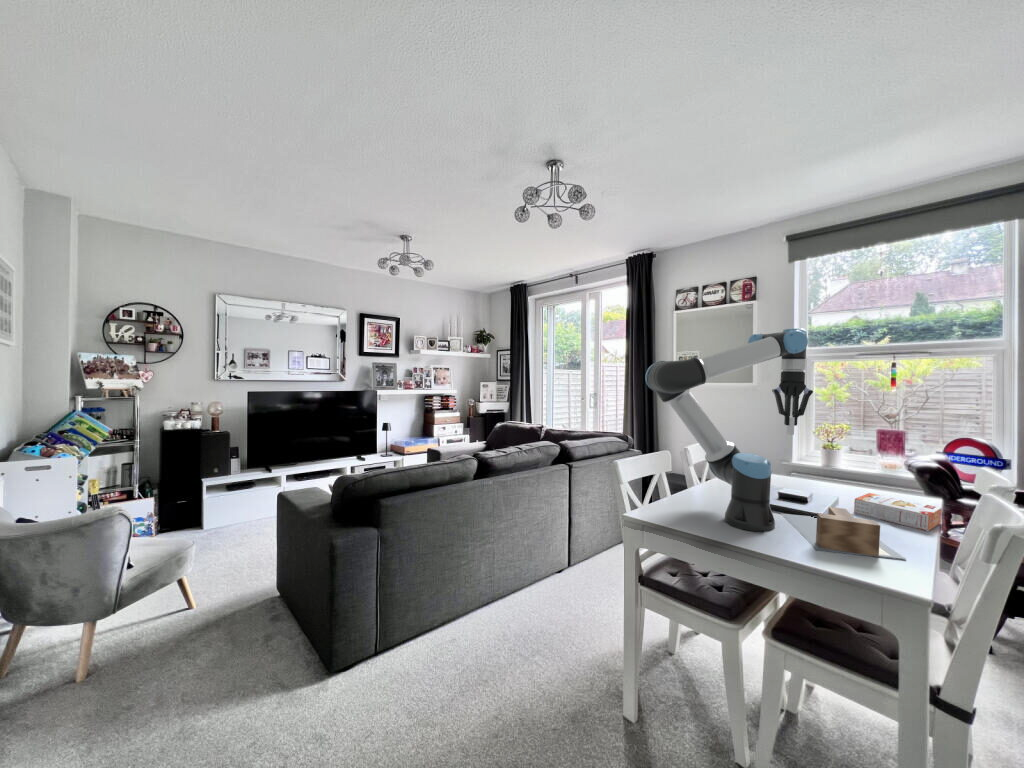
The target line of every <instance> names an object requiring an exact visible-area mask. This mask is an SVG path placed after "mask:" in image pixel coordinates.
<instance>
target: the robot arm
mask: <svg viewBox="0 0 1024 768" xmlns="http://www.w3.org/2000/svg"><path fill="white" fill-rule="evenodd" d="M808 344H809V339H808V336H807V330H806V329H805V328H786V329H783V330H782V331H781V332H772V333H754V334H752V335H750V337H749V338H748V341H747V343H746V344H742V345H739V346H736V347H732V348H730V349H727V350H725V351H724V350H723V351H720V352H717V353H714V354H711V355H707V356H705V357H702V358H699V357H692V358H688V359H683V360H668V361H666V360H659V361H657V362H655V363H654V362H653V364H651V365H650V366H649V367H648V368H647V369H646V373H645V383H646V386H648V389H650V390H651V391H653V392H655V393H656V395H657V396H658V397H659V399H660V400H661V401H662V402H663V403H666V404H669V405H670V407H671V408H672V409H673V411H674V412H675V413H676V414H677V416H678V417H679V419H680V420H681V421H682V422H683V424H684V425H685V427H686V428H687V430H688V431H689V432H690V433H691V435H692V436H693V437H694V439H695V440H696V442H697V443H698V445H699V446H700V447H701V448H702V450H703V451H704V452H705V456H704V459H705V460H706V462H707V463H708V467H709V470H710V471H711V473H712V474H713V475H714V476H715V477H716V478H717V479H719V480H721V481H723V482H725V483H727V484H729V485H730V486H731V487H730V488H731V489H730V490H731V491H730V492H731V493H730V494H731V495H730V501H729V503H728V506H727V508H726V510H725V513H724V522H725V523H727V524H728V525H730V526H731V527H735V528H737V529H741V530H744V531H751V532H757V533H758V532H759V533H760V532H761V533H762V532H763V533H764V532H771V531H774V530H775V528H776V522H775V521H776V520H775V517H774V514H773V512H772V509H771V504H770V501H771V499H770V498H771V483H772V482H771V481H772V478H771V477H772V465H771V461H770V460H769V459H768V458H766V457H764V456H761V455H757V454H754V453H749V452H741V450H739V448H738V447H737V446H736V445H735V443H734V442H733V441H728V440H727V439H726V438H725V436H723V433H721V431H720V429H718V428H717V426H716V425H715V423H714V422H713V421H712V419H711V418H710V416H709V415H708V414H707V412H706V411H705V410H704V408H703V407H702V405H701V404H700V403H699V402H698V400H697V399H696V398H695V396H694V394H693V393H692V392H691V391H690V390H691V389H693V388H696V387H698V386H702V385H705V384H706V383H707V381H708V380H711V379H714V378H716V377H720V376H723V375H726V374H729V373H733V372H735V371H739V370H742V369H746V368H748V367H751V366H755V365H758V364H760V363H763V362H767V361H770V360H772V359H773V360H774V359H776V358H780V357H781V363H780V366H781V367H780V369H781V372H780V383H779V384H778V387H776V388H773V389H772V390H771V392H772V393H773V395H774V397H775V402H776V407H777V410H778V414H779V415H782V416H784V417H783V418H784V422H783V423H784V426H786V434H787V435H790V436H791V435H792V436H794V435H795V426H796V427H797V426H798V418H799V417H801V416H804V415H805V412H806V408H807V405H808V404H809V403H808V402H809V400H810V397H811V396H812V394H813V393H814V391H813V390H812V389H809V388H807V385H806V384H805V383H806V371H805V370H806V356H807V347H808ZM781 393H783V395H784V404H783V400H782V395H781ZM802 393H803V396H802V399H801V402H799V401H800V395H801V394H802ZM791 402H792V403H791ZM791 404H792V407H791ZM799 404H800V405H799ZM791 408H792V410H791ZM791 413H792V415H791Z"/></svg>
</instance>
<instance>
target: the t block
mask: <svg viewBox="0 0 1024 768" xmlns="http://www.w3.org/2000/svg"><path fill="white" fill-rule="evenodd" d="M827 510H828V511H827V512H828V513H821V512H817V515H816V517H817V529H816V543H817V544H818V546H819V547H821V548H827V549H834V550H840V551H846V552H853V553H859V554H865V555H872V556H878V557H877V558H880V557H879V540H880V537H881V536H880V535H881V524H879V523H878V522H877V521H876V520H874V519H866V518H858V517H854V515H853V514H852V513H850V511H848V509H847V508H841V507H833V506H828V509H827ZM880 541H881V540H880ZM872 556H871V557H872Z"/></svg>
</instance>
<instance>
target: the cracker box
mask: <svg viewBox="0 0 1024 768" xmlns="http://www.w3.org/2000/svg"><path fill="white" fill-rule="evenodd" d="M853 503H854V507H853V512H854V514H859V515H862V516H867V517H871V518H876V519H879V520H881V521H886V522H890V523H893V524H896V525H897V524H898V525H902V526H905V527H906V526H907V527H909V528H914V529H918V530H921V531H922V530H923V531H926V532H929V531H931V530H933V528H935V527H937V526H938V525H940V524H941V523H942V510H943V509H942V507H939V506H935V505H930V504H924V503H919V502H915V501H911V500H905V499H901V498H895V497H891V496H885V495H880V494H875V493H871V492H868V493H866V494H863V495H861V496H858V497H856V498H854V502H853Z"/></svg>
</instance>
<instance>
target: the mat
mask: <svg viewBox="0 0 1024 768" xmlns="http://www.w3.org/2000/svg"><path fill="white" fill-rule="evenodd" d="M780 515H781V516H782V517H783V518H784V519H786V521H787V522H788V523H789V524H790V525H791V526H792V527H793V528H794V529H796V530H797V532H798V533H799V534H800V535H801V536H802V537H803V538H804V539H806V541H807V542H808V543H809V544H810V545H811V546H812V548H813V549H814V550H815V551H820V552H829V553H836V552H838V554H845V553H849V554H848V555H854V554H858V555H857V556H863V555H865V554H859V553H853V552H846V551H840V550H834V549H827V548H821V547H819V546H818V544H817V543H816V529H817V518H814V517H815V516H813V517H811V515H800V514H791V513H780ZM865 557H872V555H866V556H865ZM880 557H886V558H885V559H889V558H895V559H894V560H898V559H906V558H905V556H903V555H901V554H900V553H898V552H897V551H896V550H894V549H893V548H891V547H890V546H889V545H887V544H885V543H884V542H882V541H881V540H879V557H878V556H875V557H874V558H880Z"/></svg>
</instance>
